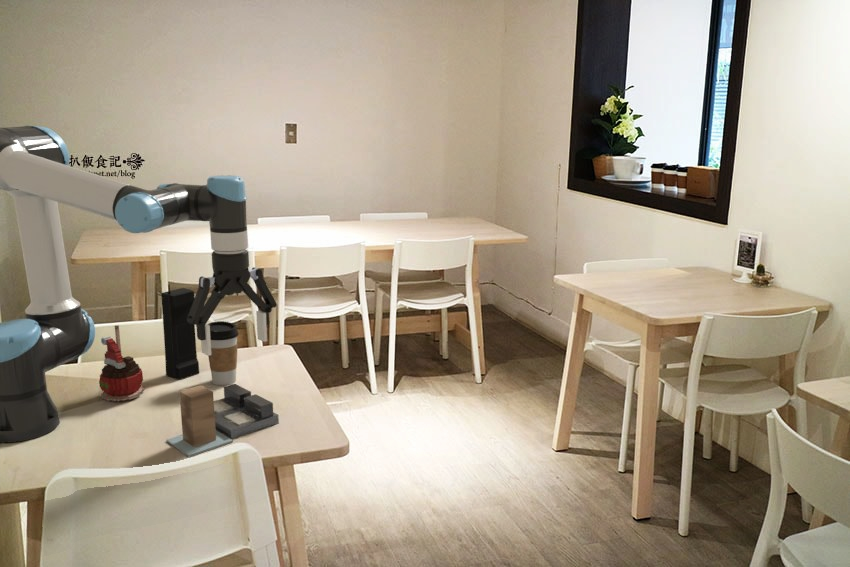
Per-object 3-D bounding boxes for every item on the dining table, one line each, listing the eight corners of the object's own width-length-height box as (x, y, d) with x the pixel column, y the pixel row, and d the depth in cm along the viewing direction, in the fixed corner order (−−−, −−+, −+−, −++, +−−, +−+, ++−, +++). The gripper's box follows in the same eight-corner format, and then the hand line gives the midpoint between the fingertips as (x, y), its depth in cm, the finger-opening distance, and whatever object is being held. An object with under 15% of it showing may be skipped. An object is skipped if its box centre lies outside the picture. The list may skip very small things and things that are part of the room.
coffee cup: (227, 372, 203) (224, 318, 199) (247, 380, 198) (245, 324, 194) (200, 381, 197) (196, 325, 193) (220, 389, 191) (217, 332, 188)
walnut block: (183, 439, 163) (179, 391, 160) (204, 432, 166) (201, 385, 164) (194, 447, 159) (191, 397, 157) (216, 440, 163) (213, 391, 160)
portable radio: (189, 367, 207) (182, 277, 201) (203, 372, 204) (197, 280, 198) (164, 375, 201) (156, 283, 195) (178, 380, 197) (171, 286, 191)
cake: (153, 395, 188) (147, 324, 184) (118, 407, 181) (111, 334, 176) (127, 385, 194) (121, 317, 190) (93, 396, 187) (85, 326, 182)
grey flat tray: (192, 415, 176) (191, 395, 175) (238, 401, 184) (237, 382, 183) (231, 439, 164) (230, 417, 163) (278, 423, 172) (277, 402, 171)
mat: (166, 441, 163) (166, 439, 163) (209, 427, 170) (209, 425, 170) (189, 456, 156) (189, 455, 156) (232, 442, 163) (232, 440, 163)
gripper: (270, 240, 171) (274, 331, 177) (165, 255, 155) (172, 355, 160) (290, 245, 166) (293, 338, 171) (183, 261, 149) (190, 364, 154)
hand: (235, 347), depth 166 cm, fingers open, 13 cm apart
